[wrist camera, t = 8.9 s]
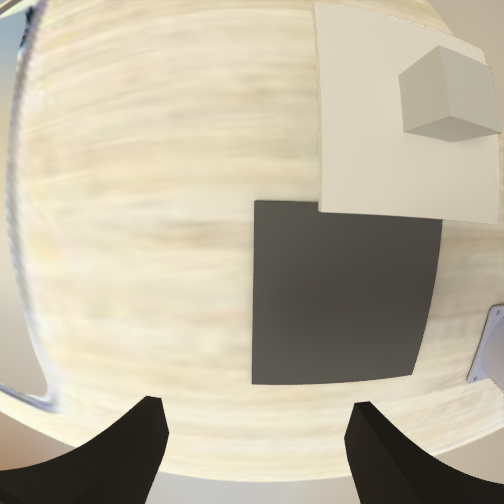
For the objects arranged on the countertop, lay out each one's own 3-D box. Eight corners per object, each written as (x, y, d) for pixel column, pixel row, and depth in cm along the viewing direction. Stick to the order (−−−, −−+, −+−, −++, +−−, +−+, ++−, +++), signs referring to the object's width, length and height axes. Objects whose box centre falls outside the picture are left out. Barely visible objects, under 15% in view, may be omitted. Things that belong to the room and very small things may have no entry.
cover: (475, 53, 10) (520, 31, 6) (489, 222, 13) (545, 236, 8) (311, 9, 11) (327, -47, 6) (318, 210, 13) (347, 222, 8)
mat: (440, 211, 17) (442, 212, 17) (409, 372, 20) (411, 374, 19) (254, 201, 18) (254, 201, 17) (252, 381, 20) (251, 384, 20)
